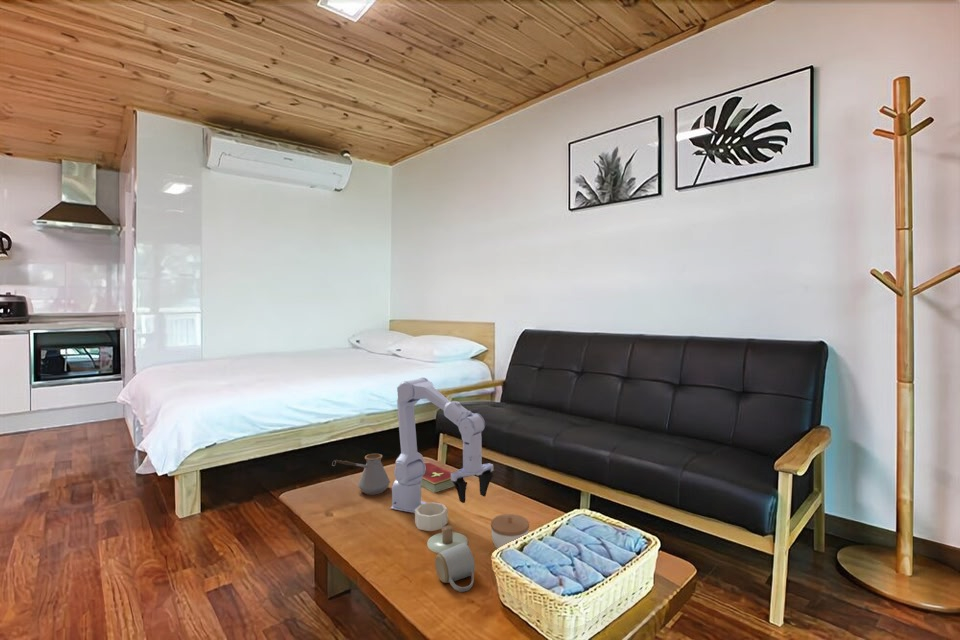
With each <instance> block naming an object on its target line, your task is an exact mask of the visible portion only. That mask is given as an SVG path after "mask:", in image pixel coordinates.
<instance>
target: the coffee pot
mask: <svg viewBox="0 0 960 640" xmlns="http://www.w3.org/2000/svg"><path fill="white" fill-rule="evenodd" d="M382 458H383V454H380V453H369V454H367V455H365V456H364V460H366V464H363V463H355V462H352V461H348V460H341V459H340V460H338V459H334V460H333V461H332V463H331V466H333V467H335V466H336V463H338V464H343V465H345V466H346V465H347V466H354V467H360V468H364V469H363V471H362V473H361V476H360V479H359V481H358V488H359V490H360V491H361V492H363V493H364V494H366V495H370V496H371V495H374V496H375V495H380V494H382V493H383V492H385V490H386V489H387V488H388V487H389V486H390V483H391V480H390V477H389V476H388V474H387V472H386V470H385V468H384V465H383V463H382V461H381V460H382Z"/></svg>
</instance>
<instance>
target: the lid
mask: <svg viewBox="0 0 960 640" xmlns="http://www.w3.org/2000/svg"><path fill="white" fill-rule="evenodd" d="M453 529H454V528H453V526H451V525H445V526H444V527H443V528H442V529H441V532H438V533H435V534H434V535H432V536H430V538H428V540H427V544H426V545H427V548H428V550H430V551H432V552H433V553H436V554H439V553H440V552H442V551H444V550H447V549H449V548H451V547H454V546H456V545H459V544H461V543H465V544H467V545H468V544H469V541H468V538H467V536H466V535H464V534H462V533H460V532H456V531H455V532H454V530H453Z"/></svg>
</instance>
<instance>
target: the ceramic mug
mask: <svg viewBox="0 0 960 640" xmlns="http://www.w3.org/2000/svg"><path fill="white" fill-rule="evenodd" d="M436 554H437V555H436V556H435V560H434V565H435V570H436V575H437V576H438V578H439V581H441V582H442V583H444V584H447V583H449V584H450V586H451V587H452V588H453V589H454V590H455V591H457V592H459V593H464V592H468V591H470V590H471V589H472V587H473V585H474V580H475V576H474V574H475V570H476V568H475V567H476V565H475V558H474V556H473V552H472V550H471V549H470V547H469V545H468V544H465V543H461V544H459V545H456V546H454V547H451V548H449V549H447V550H444V551H442V552H440V553H436ZM468 577H470V578H471V582H470V584H469V585H466V586H459V585H458V584H456V583H455V582H456V581H459V580H461V579H465V578H468Z"/></svg>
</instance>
